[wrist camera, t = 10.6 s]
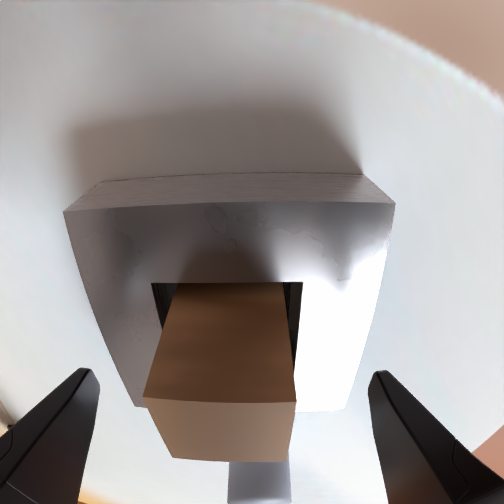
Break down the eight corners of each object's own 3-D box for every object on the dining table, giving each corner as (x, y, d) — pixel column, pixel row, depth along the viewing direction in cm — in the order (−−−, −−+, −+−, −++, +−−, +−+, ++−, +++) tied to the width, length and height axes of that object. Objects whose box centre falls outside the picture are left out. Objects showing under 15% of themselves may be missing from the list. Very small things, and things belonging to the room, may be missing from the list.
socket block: (148, 363, 16) (134, 406, 13) (101, 182, 11) (62, 211, 9) (333, 363, 16) (343, 408, 13) (364, 174, 11) (395, 203, 8)
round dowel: (233, 434, 20) (229, 509, 15) (229, 408, 18) (224, 494, 13) (284, 433, 20) (288, 508, 15) (287, 407, 18) (294, 494, 13)
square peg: (198, 320, 15) (172, 457, 8) (188, 252, 13) (142, 397, 7) (276, 320, 14) (285, 461, 8) (278, 252, 13) (297, 401, 7)
